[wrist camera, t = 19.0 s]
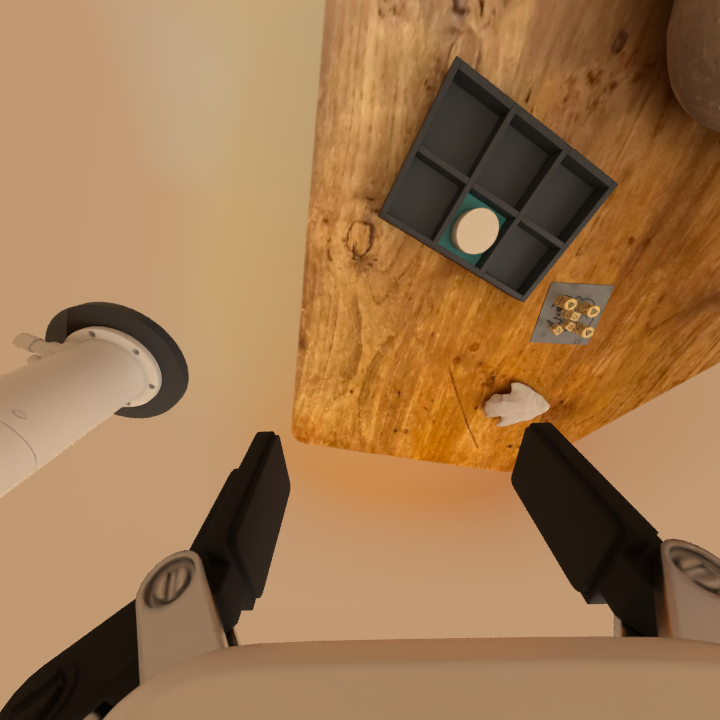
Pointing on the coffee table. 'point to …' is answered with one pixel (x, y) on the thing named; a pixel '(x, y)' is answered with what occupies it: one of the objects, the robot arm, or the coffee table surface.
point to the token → (474, 230)
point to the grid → (494, 183)
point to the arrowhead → (516, 405)
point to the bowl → (695, 59)
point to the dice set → (571, 313)
